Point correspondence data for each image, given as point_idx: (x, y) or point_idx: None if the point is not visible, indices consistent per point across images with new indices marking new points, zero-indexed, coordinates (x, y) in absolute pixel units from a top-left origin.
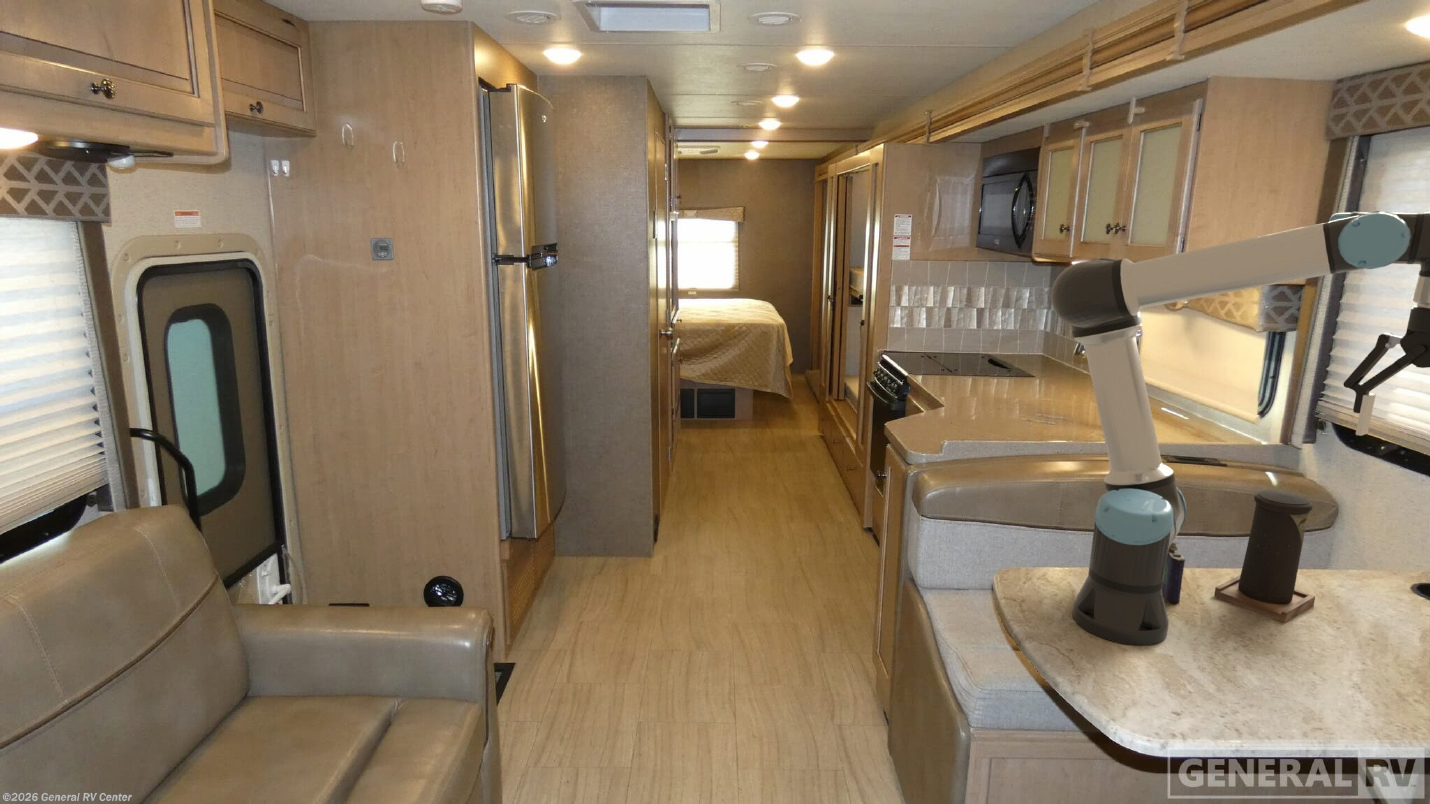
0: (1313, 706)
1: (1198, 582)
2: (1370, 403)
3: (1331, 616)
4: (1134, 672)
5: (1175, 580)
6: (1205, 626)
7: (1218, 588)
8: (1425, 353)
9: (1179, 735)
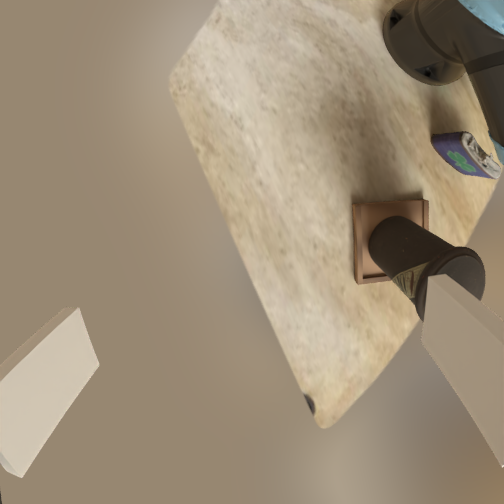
0: (239, 48)
1: (446, 219)
2: (499, 395)
3: (332, 269)
4: None
5: (448, 133)
6: (388, 111)
7: (425, 201)
8: None
9: None
